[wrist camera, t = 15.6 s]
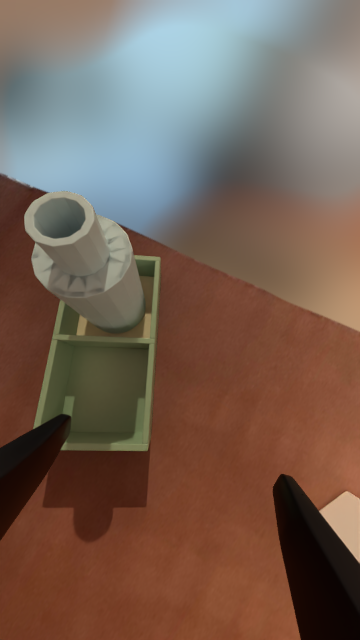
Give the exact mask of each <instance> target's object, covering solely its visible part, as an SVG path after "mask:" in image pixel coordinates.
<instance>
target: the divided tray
mask: <svg viewBox="0 0 360 640" xmlns="http://www.w3.org/2000/svg"><path fill="white" fill-rule="evenodd" d="M134 257H135V261H136V265H137V269H138V273H139V277H140V281H141V285H142V289H143V293H144V297H145V302H146V303H145V304H146V308H145V313H144V316H143V318H142V320H141V321H140V322H139V324H138V325H137V326H135V327H134V328H133V329H131V330H129V331H127V332H124V333H119V334H114V333H108V332H105V331H103V330H101V329H99V328H97V327H96V326H94V325H93V324H92V323H91V322H89V321H88V320H87V319H85V318H84V317H83V316H81V315H80V314H79V313H77V312H76V311H75V310H74V309H72V308H71V307H70V306H68V305H67V304H66V303H64V302H63V301H62V300H60V304H59V308H58V313H57V318H56V323H55V327H54V332H53V337H52V342H51V346H50V351H49V356H48V361H47V366H46V370H45V375H44V380H43V385H42V389H41V394H40V399H39V404H38V408H37V413H36V418H35V423H34V428H33V429H35V428H36V427H38V426H40V425H42V424H43V423H45V422H47V421H49V420H50V419H52V418H54V417H56V416H58V415H59V414H67V415H70V416H71V431H70V434H69V436H68V438H67V439H66V441H65V443H64V445H63V446H62V448H61V450H94V451H148V448H149V443H150V439H151V430H152V414H153V398H154V382H155V366H156V350H157V334H158V318H159V302H160V286H161V259H160V257H151V256H136V255H134Z"/></svg>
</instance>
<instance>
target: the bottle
mask: <svg viewBox="0 0 360 640" xmlns="http://www.w3.org/2000/svg"><path fill="white" fill-rule="evenodd" d="M24 222H25V230H26V232H27V233H28V234H29V235H30V237H31V238H32V239H33V240H34V241H35V242H36V243H35V246H34V250H33V254H32V259H31V260H32V264H33V269H34V273H35V276H36V277H37V278H38V280H39V281H40V282H41V283H42V284H43V285H44V287H45V288H46V289H47V290H49V291H50V292H51V293H53V294H54V295H55V296H56V297H58V298H59V299H60V300H62V301H63V302H64V303H66V304H67V305H68V306H70V307H71V308H72V309H74V310H75V311H76V312H77V313H79V314H80V315H81V316H83V317H84V318H85V319H87V320H88V321H89V322H91V323H92V324H93V325H94V326H96V327H97V328H99V329H101V330H103V331H105V332H108V333H114V334H119V333H124V332H127V331H129V330H131V329H133V328H134V327H135V326H137V325H138V324H139V322H140V321H141V320H142V318H143V316H144V313H145V308H146V304H145V303H146V302H145V297H144V293H143V289H142V285H141V281H140V277H139V273H138V269H137V265H136V261H135V257H134V253H133V249H132V246H131V244H130V241H129V238H128V236H127V234H126V232H125V231H124V230H123V229H122V228H121V227H120V226H119V225H118V224H117V223H115V222H114V221H112V220H109V219H107V218H104V217H102V216H100V215H96V213H95V211H94V209H93V207H92V205H91V204H90V203H89V202H88V201H87V200H86V199H84V197H83V196H81V195H78V194H75V193H71V192H68V191H61V192H53V193H48V194H45V195H44V196H42V197H40V198H38V199H37V200H35V201H33V202H32V204H31V205H30V207H29V208H28V210H27V211H26V213H25V215H24Z"/></svg>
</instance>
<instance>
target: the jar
mask: <svg viewBox="0 0 360 640" xmlns="http://www.w3.org/2000/svg"><path fill="white" fill-rule="evenodd" d="M319 512H320V513H321V514H322V516H323V517H324V518H325V520H326V521H327V522H328V523H329V525H330V526H331V527H332V529H333V530H334V531H335V532H336V534H337V535H338V536H339V538H340V539H341V540H342V541H343V543H344V544H345V545H346V546H347V548H348V549H349V550H350V552H351V553H352V554H353V555H354V557H355V558H356V559H357V561H358V562H359V563H360V499H359V498H358V497H356V496H354V495H353V494H351V493H350V492H348V491H345V492H344V493H342V494H341V495H340V496H338V497H337V498H336V499H334V500H333V501H332V502H330V503H329V504H328V505H326V506H325V507H324V508H322V509H321V510H320V511H319Z"/></svg>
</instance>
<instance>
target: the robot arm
mask: <svg viewBox="0 0 360 640" xmlns="http://www.w3.org/2000/svg"><path fill="white" fill-rule="evenodd" d="M70 431H71V416H70V415H67V414H59V415H58V416H56V417H54V418H52V419H50V420H49V421H47V422H45V423H43V424H42V425H40V426H38V427H36V428H35V429H33V430H31V431H29V432H27V433H26V434H24V435H22V436H20V437H19V438H17V439H15V440H13V441H11V442H10V443H8V444H6V445H4V446H3V447H1V448H0V540H1V539H2V538H3V536H4V535H5V533H6V532H7V530H8V529H9V527H10V526H11V525H12V523H13V522H14V520H15V519H16V517H17V516H18V515H19V513H20V512H21V510H22V509H23V507H24V506H25V505H26V503H27V502H28V500H29V499H30V497H31V496H32V494H33V493H34V492H35V490H36V489H37V487H38V486H39V484H40V483H41V482H42V480H43V479H44V477H45V476H46V474H47V472H48V471H49V469H50V467H51V465H52V464H53V462H54V460H55V459H56V457H57V455H58V453H59V452H60V450H61V448H62V446H63V445H64V443H65V441H66V439H67V438H68V436H69V434H70ZM273 497H274V505H275V512H276V519H277V527H278V534H279V540H280V546H281V551H282V555H283V560H284V564H285V569H286V573H287V578H288V583H289V587H290V592H291V596H292V601H293V606H294V610H295V615H296V619H297V624H298V628H299V633H300V638H301V640H360V563H359V562H358V561H357V559H356V558H355V557H354V555H353V554H352V553H351V552H350V550H349V549H348V548H347V546H346V545H345V544H344V543H343V541H342V540H341V539H340V538H339V536H338V535H337V534H336V532H335V531H334V530H333V529H332V527H331V526H330V525H329V523H328V522H327V521H326V520H325V518H324V517H323V516H322V514H321V513H320V512H319V511H318V509H317V508H316V507H315V505H314V504H313V503H312V502H311V500H310V499H309V498H308V496H307V495H306V494H305V493H304V491H303V490H302V489H301V487H300V486H299V485H298V484H297V482H296V481H295V480H294V479H293V478H292V477H291V476H289V475H285V474H281V475H280V476H279V477H278V479H277V481H276V483H275V484H274V486H273Z"/></svg>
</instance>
